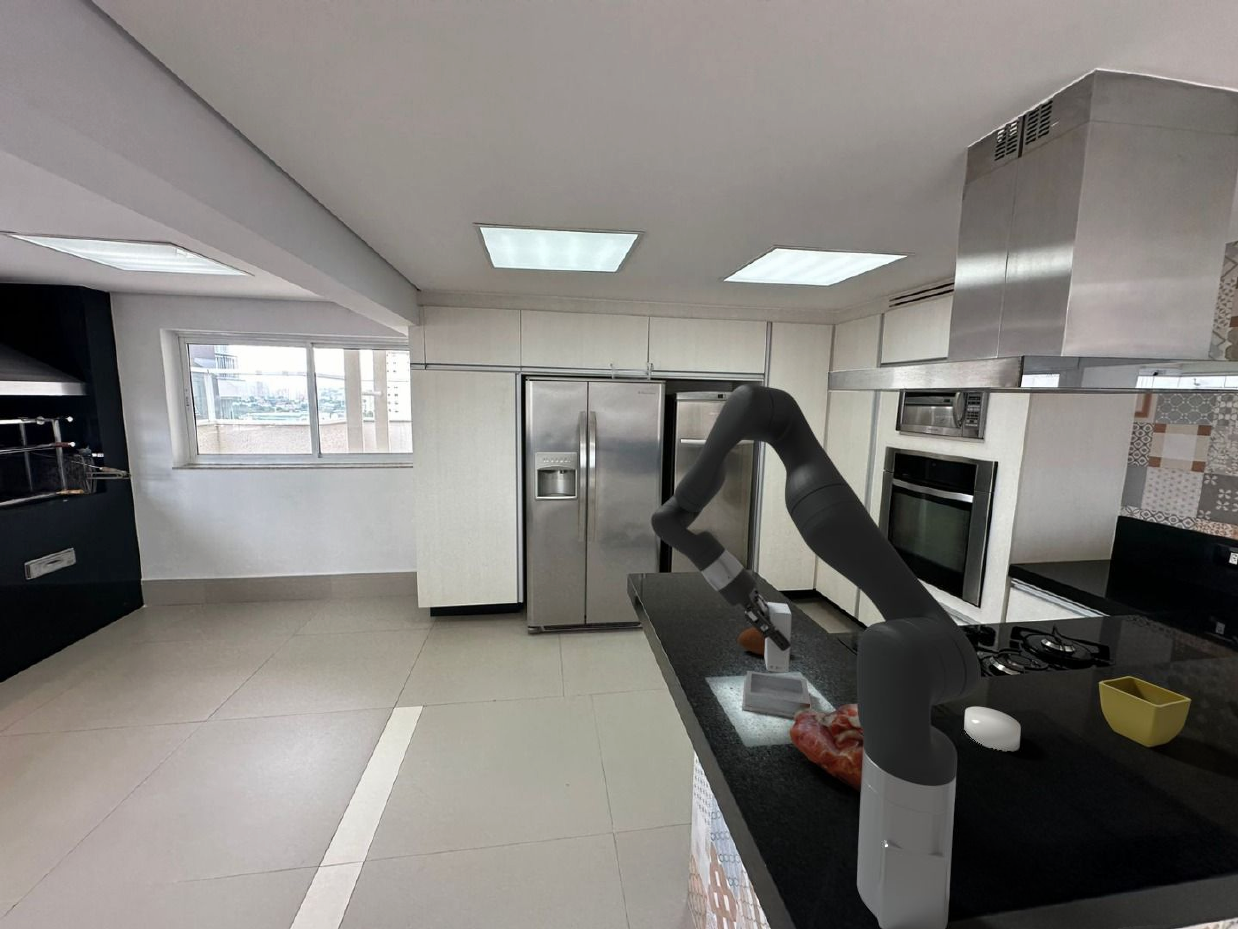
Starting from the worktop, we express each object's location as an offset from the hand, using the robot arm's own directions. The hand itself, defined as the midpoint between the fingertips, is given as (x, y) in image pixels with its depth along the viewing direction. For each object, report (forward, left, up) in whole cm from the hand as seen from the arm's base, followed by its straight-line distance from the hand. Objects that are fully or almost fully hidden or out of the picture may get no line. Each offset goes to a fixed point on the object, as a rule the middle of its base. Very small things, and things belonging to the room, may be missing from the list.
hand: (786, 640), depth 100 cm
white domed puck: (-1, -35, -13) cm, 38 cm away
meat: (-14, -11, -13) cm, 22 cm away
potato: (+22, +5, -13) cm, 26 cm away
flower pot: (+7, -61, -13) cm, 63 cm away
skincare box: (0, +2, -6) cm, 6 cm away
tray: (0, +2, -13) cm, 13 cm away
